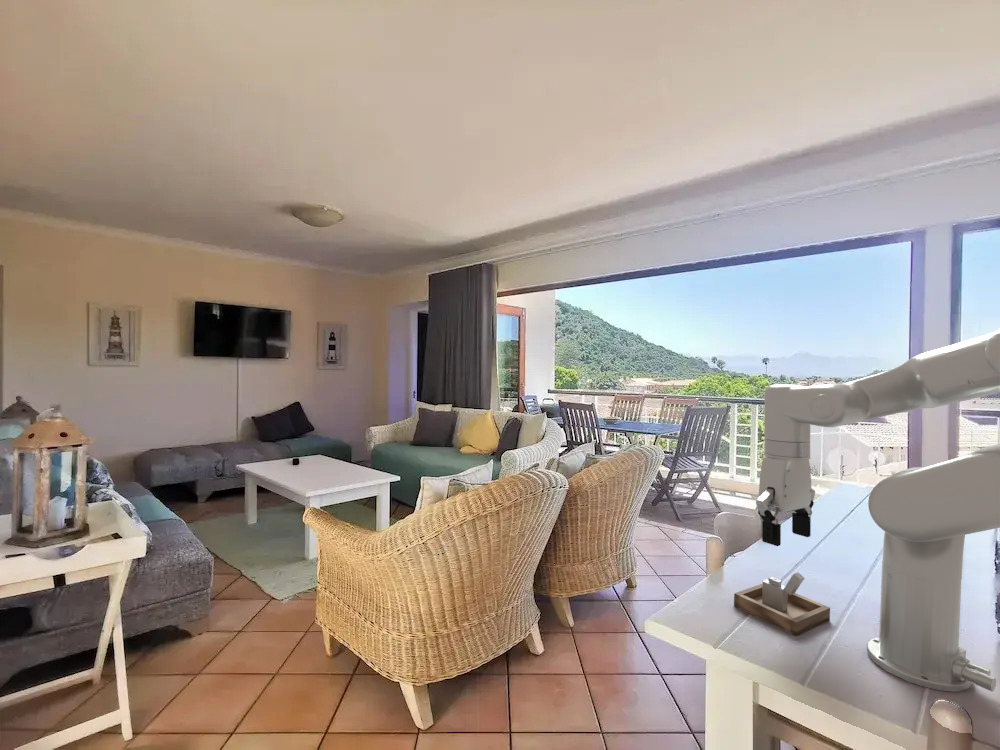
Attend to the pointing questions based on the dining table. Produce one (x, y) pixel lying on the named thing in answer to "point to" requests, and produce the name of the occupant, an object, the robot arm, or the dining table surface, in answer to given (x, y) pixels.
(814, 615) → the tray
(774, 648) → the dining table surface
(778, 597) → the lighter
